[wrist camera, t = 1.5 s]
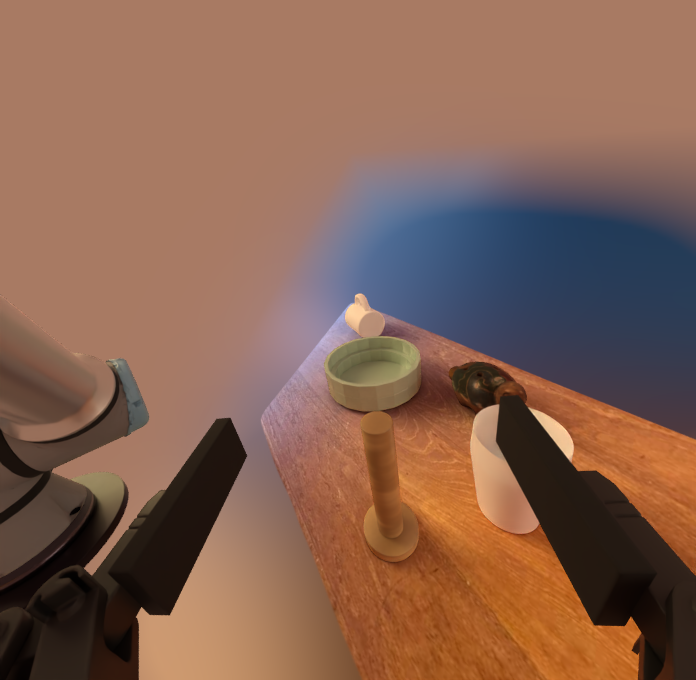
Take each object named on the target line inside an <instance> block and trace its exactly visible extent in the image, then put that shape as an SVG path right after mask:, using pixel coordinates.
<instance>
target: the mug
mask: <svg viewBox="0 0 696 680" xmlns="http://www.w3.org/2000/svg"><path fill="white" fill-rule="evenodd" d="M345 320H346V323H347V324H348V325H349V326H350V327H351V328H352V329H353V330H354V331H356V332H357V333H358V334H359V335H360V336H362V337H363V338H365V337H373V336H379V335H380V334H381V333H382V331H383V329H384V326H385V321H384V318H383V316H382V315H381V314H380V313H379V312H377V311H375V310H373V309H372V308H370V307H369V304H368V302H367V299H366V297H365V296H364V295H363V294H357V295H356V296H355V304H353V305H351V306H350V307H349V308H348V309H347V311H346V314H345Z"/></svg>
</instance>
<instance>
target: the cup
mask: <svg viewBox="0 0 696 680" xmlns="http://www.w3.org/2000/svg"><path fill="white" fill-rule="evenodd" d="M528 408H529V407H528ZM529 409H530V411H531V412H532V413H533V415H534V416H535V417H536V418H537V420H538V421H539V422H540V423H541V425H542V426H543V427H544V429H545V430H546V431H547V432H548V434H549V435H550V436H551V438H552V439H553V440H554V441H555V443H556V444H557V445H558V447H559V448H560V449H561V450H562V452H563V453H564V454H565V455H566V457H567V458H568V459H569V461H570V462H571V461H572V456H573V451H574V445H573V441H572V439H571V437H570V435H569V433H568V432H567V431H566V429H565V428H564V427H563V426H562V425H561V424H559V423H558V422H557V421H556V420H554V419H553V418H551V417H550V416H548V415H546V414H544V413H542V412H540V411H537V410H535V409H532V408H529ZM498 413H499V405H493V406H490V407H487V408H485V409H483V410H481V411H480V412H479V413H478V414H477V415H476V417H475V419H474V422H473V429H472V436H471V440H470V451H471V458H472V465H473V473H474V480H475V487H476V494H477V500H478V504H479V507H480V509H481V511H482V512H483V514H484V515H485V516H486V518H487V519H488V520H489V521H490V522H492V523H493V524H494V525H496V526H497V527H499V528H501V529H503V530H505V531H507V532H511V533H516V534H525V533H529V532H532V531H533V530H535V529H536V528H537V526H538V525H539V521H538V519H537V518H536V516H535V514H534V512H533V510H532V508H531V506H530V504H529V503H528V501H527V499H526V497H525V495H524V493H523V491H522V489H521V488H520V486H519V484H518V482H517V480H516V478H515V476H514V474H513V473H512V471H511V469H510V467H509V465H508V463H507V461H506V459H505V458H504V456H503V454H502V452H501V450H500V448H499V446H498V444H497V443H496V433H497V423H498Z"/></svg>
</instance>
